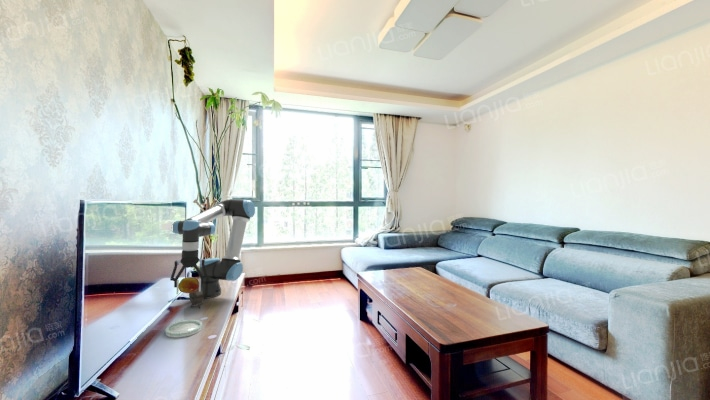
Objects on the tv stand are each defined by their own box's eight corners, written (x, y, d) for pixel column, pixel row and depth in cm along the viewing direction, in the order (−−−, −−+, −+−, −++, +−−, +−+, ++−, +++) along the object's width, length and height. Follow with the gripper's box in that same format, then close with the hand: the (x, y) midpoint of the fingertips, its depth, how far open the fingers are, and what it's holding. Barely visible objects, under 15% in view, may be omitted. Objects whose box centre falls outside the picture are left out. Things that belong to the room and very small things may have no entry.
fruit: (202, 290, 152) (203, 276, 152) (191, 296, 143) (192, 280, 143) (186, 289, 153) (186, 274, 153) (173, 295, 144) (174, 279, 144)
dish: (166, 326, 137) (166, 322, 137) (201, 321, 145) (201, 317, 145) (164, 340, 124) (164, 336, 124) (202, 333, 132) (203, 329, 132)
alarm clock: (203, 308, 161) (204, 280, 161) (193, 310, 157) (194, 281, 157) (196, 302, 168) (198, 275, 168) (186, 305, 164) (188, 277, 164)
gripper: (164, 252, 139) (162, 297, 139) (214, 249, 150) (212, 291, 150) (165, 249, 145) (164, 292, 146) (213, 247, 157) (211, 287, 157)
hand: (188, 291), depth 148 cm, fingers closed on fruit, 9 cm apart
